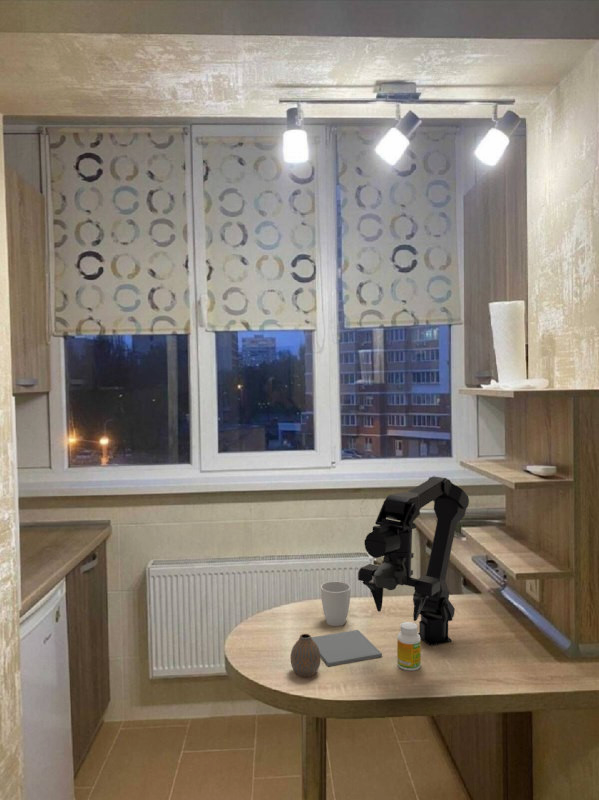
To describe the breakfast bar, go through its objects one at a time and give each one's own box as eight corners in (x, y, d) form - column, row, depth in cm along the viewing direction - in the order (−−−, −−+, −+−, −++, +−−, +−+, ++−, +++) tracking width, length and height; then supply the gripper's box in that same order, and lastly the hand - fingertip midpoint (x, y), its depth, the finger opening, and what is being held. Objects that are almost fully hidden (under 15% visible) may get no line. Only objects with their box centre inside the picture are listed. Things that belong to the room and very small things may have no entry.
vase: (291, 665, 144) (291, 629, 144) (320, 665, 144) (320, 629, 144) (289, 680, 137) (289, 642, 137) (320, 680, 137) (320, 642, 137)
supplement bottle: (415, 673, 140) (415, 632, 140) (393, 667, 143) (393, 627, 142) (423, 663, 145) (424, 623, 144) (402, 658, 148) (402, 618, 147)
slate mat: (357, 632, 161) (357, 629, 161) (381, 656, 148) (382, 653, 148) (308, 640, 157) (308, 637, 157) (328, 666, 144) (328, 663, 144)
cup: (350, 616, 172) (350, 581, 171) (350, 629, 164) (350, 592, 163) (321, 615, 172) (321, 581, 172) (320, 628, 164) (319, 591, 164)
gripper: (347, 549, 142) (345, 616, 142) (422, 564, 131) (420, 636, 131) (369, 540, 151) (367, 603, 151) (442, 553, 140) (439, 621, 141)
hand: (397, 615), depth 143 cm, fingers open, 9 cm apart
